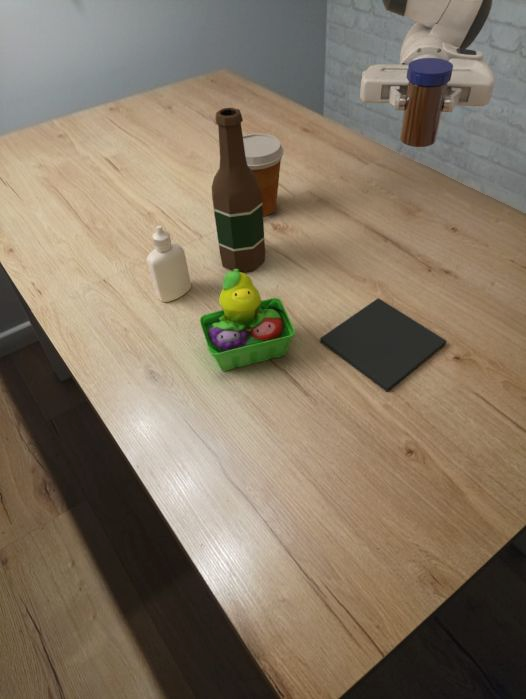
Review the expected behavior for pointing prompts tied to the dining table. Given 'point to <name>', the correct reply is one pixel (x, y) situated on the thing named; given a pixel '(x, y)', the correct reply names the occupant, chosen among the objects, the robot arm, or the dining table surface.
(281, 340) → the fruit basket
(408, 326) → the coaster
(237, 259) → the beer bottle
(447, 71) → the lid
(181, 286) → the eye dropper bottle
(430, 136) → the jar
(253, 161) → the disposable coffee cup
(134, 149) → the dining table surface
